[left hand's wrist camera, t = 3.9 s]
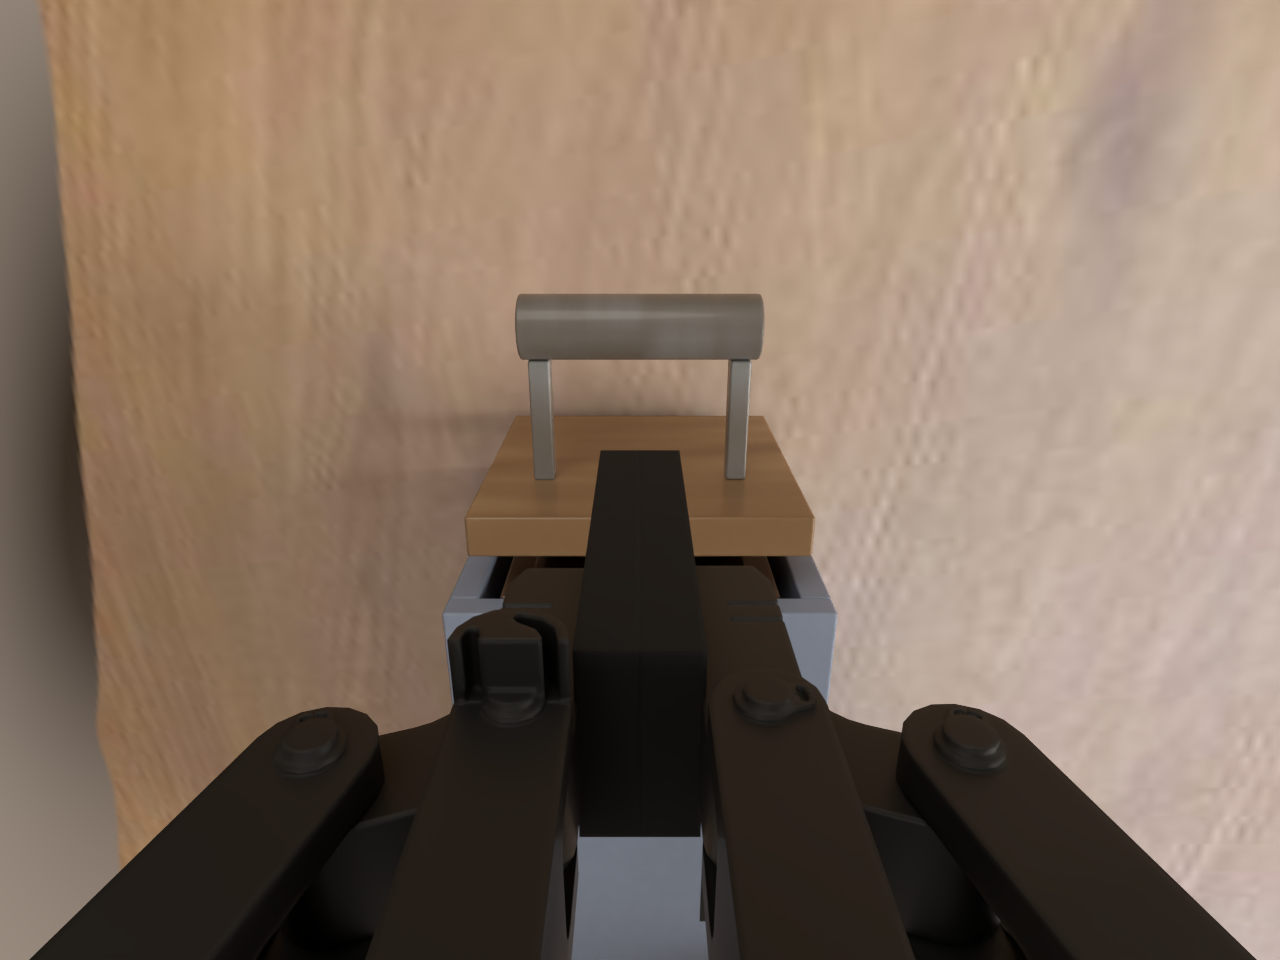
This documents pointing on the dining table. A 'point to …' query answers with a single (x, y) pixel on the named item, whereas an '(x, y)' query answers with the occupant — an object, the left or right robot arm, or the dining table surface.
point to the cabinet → (656, 866)
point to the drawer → (639, 436)
